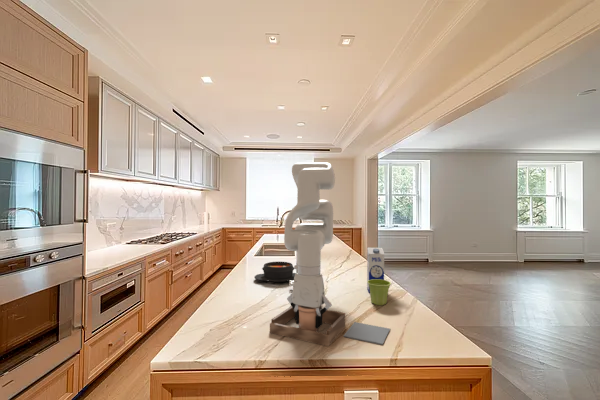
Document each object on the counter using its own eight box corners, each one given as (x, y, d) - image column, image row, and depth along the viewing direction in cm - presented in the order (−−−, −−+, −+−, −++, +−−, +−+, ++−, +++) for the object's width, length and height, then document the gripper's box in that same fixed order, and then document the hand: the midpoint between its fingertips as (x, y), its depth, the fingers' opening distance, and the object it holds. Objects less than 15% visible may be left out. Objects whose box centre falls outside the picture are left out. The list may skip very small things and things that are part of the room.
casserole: (298, 275, 176) (298, 260, 175) (304, 284, 157) (305, 267, 157) (253, 276, 171) (253, 261, 171) (254, 286, 153) (254, 268, 153)
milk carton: (381, 289, 149) (382, 247, 149) (384, 293, 142) (384, 249, 142) (366, 288, 149) (367, 247, 149) (368, 293, 143) (368, 249, 143)
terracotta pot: (294, 331, 101) (294, 307, 101) (303, 323, 107) (303, 300, 107) (314, 335, 98) (314, 310, 98) (322, 327, 104) (322, 304, 104)
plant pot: (391, 307, 124) (391, 286, 124) (367, 306, 125) (367, 284, 125) (389, 300, 133) (389, 279, 133) (367, 298, 135) (367, 278, 135)
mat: (343, 336, 97) (343, 335, 97) (354, 323, 108) (354, 321, 108) (382, 345, 92) (382, 343, 92) (390, 329, 103) (390, 328, 103)
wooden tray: (269, 332, 100) (269, 318, 100) (292, 315, 114) (292, 303, 114) (328, 346, 91) (328, 330, 91) (345, 326, 105) (345, 312, 105)
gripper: (280, 269, 103) (280, 324, 103) (329, 275, 95) (329, 334, 95) (291, 265, 110) (290, 316, 110) (337, 270, 102) (337, 325, 102)
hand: (308, 324), depth 103 cm, fingers closed on terracotta pot, 6 cm apart
